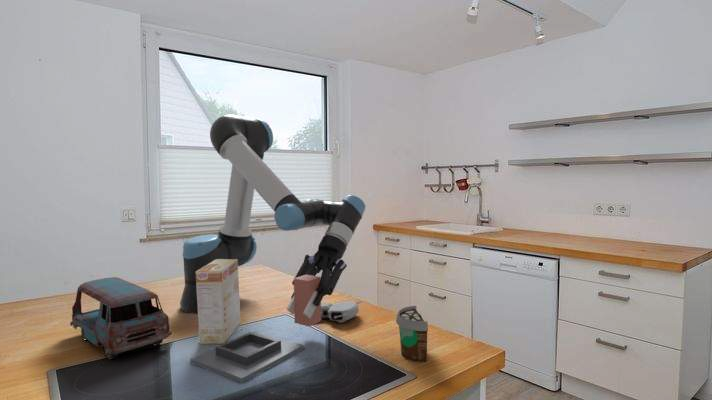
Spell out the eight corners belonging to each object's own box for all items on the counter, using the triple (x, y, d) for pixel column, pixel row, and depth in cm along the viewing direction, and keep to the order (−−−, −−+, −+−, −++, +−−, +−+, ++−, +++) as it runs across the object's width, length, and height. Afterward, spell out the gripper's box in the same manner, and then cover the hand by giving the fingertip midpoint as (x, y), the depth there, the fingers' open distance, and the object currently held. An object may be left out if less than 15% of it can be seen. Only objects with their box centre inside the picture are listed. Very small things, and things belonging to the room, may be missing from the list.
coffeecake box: (218, 323, 126) (215, 258, 125) (241, 323, 126) (239, 258, 124) (197, 344, 111) (194, 271, 110) (224, 344, 111) (221, 270, 110)
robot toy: (303, 325, 126) (349, 327, 120) (301, 310, 126) (348, 311, 120) (321, 312, 137) (364, 313, 132) (320, 298, 137) (363, 299, 131)
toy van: (110, 369, 98) (105, 306, 97) (69, 336, 119) (65, 283, 118) (176, 347, 110) (173, 290, 109) (128, 320, 131) (125, 272, 130)
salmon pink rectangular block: (294, 322, 113) (293, 278, 112) (306, 317, 117) (306, 274, 116) (309, 326, 110) (308, 281, 109) (321, 320, 114) (320, 276, 113)
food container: (392, 344, 108) (391, 306, 108) (416, 343, 109) (415, 305, 108) (401, 366, 96) (401, 323, 95) (428, 365, 97) (427, 322, 96)
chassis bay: (190, 362, 100) (189, 350, 100) (254, 334, 117) (253, 324, 117) (242, 382, 90) (241, 369, 90) (304, 348, 107) (303, 337, 107)
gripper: (366, 252, 120) (332, 327, 107) (317, 246, 130) (280, 314, 118) (356, 236, 115) (318, 313, 103) (305, 231, 125) (265, 300, 113)
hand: (298, 313), depth 110 cm, fingers closed on salmon pink rectangular block, 5 cm apart
